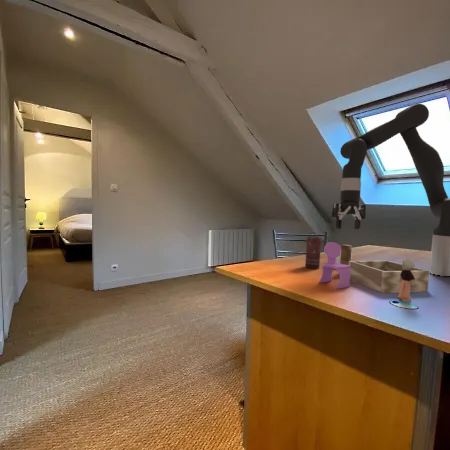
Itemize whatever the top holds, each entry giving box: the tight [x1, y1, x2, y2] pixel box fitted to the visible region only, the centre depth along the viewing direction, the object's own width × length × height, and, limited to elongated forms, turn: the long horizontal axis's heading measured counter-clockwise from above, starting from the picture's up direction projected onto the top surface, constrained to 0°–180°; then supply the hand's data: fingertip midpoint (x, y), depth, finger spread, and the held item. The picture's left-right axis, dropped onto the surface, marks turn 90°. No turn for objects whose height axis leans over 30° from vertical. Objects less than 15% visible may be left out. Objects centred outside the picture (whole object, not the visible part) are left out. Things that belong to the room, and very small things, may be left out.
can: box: [304, 236, 323, 270], centre depth 129 cm, size 6×6×14 cm
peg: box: [340, 244, 353, 265], centre depth 119 cm, size 4×4×12 cm
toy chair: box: [318, 241, 351, 289], centre depth 101 cm, size 8×9×15 cm
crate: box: [349, 260, 430, 294], centre depth 104 cm, size 18×18×7 cm
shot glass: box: [336, 252, 353, 263], centre depth 133 cm, size 7×7×7 cm
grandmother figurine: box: [396, 258, 416, 303], centre depth 86 cm, size 8×4×13 cm, turn 5°
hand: (347, 229), depth 118 cm, fingers open, 8 cm apart
